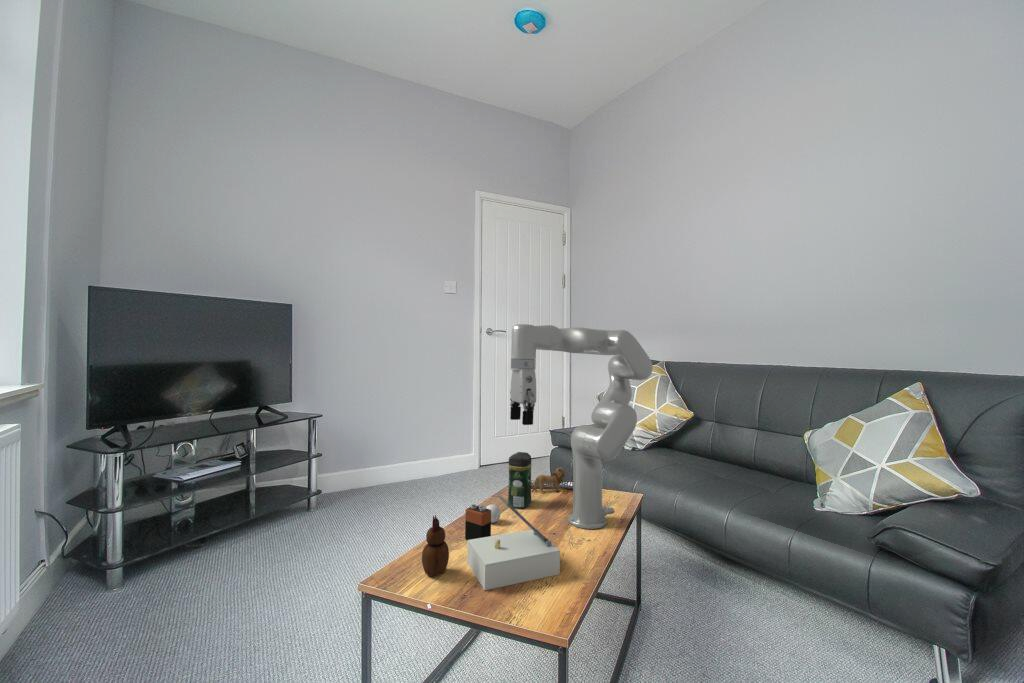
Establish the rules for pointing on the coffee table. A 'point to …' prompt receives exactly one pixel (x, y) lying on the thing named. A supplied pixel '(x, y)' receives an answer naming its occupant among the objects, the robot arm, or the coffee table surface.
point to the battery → (477, 522)
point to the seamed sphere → (494, 513)
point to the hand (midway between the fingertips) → (521, 422)
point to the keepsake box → (512, 559)
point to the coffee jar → (519, 480)
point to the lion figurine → (550, 479)
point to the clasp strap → (525, 520)
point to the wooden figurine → (435, 550)
